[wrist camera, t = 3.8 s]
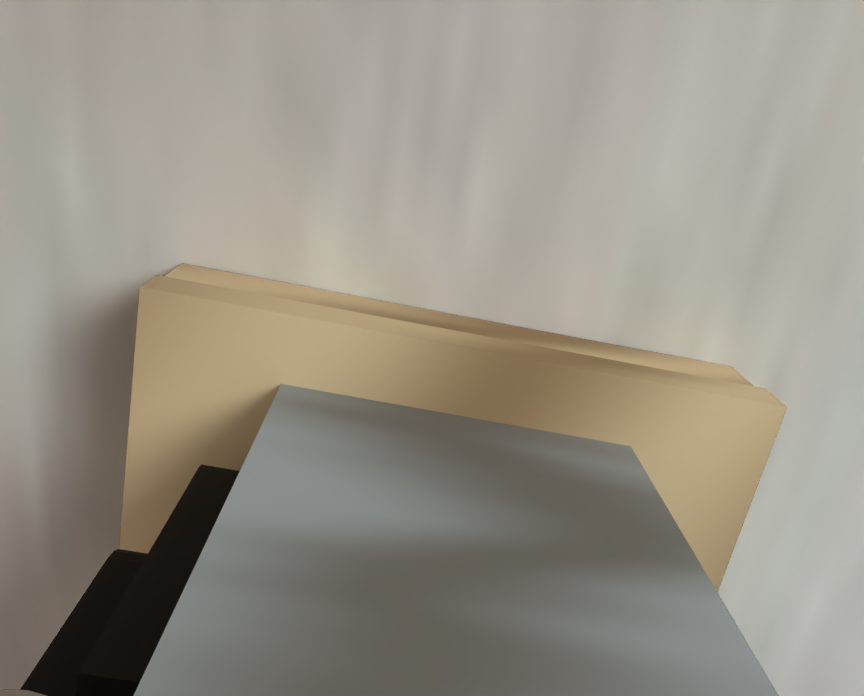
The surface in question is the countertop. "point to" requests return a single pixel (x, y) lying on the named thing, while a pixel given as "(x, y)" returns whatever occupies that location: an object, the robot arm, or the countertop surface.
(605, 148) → the countertop surface
